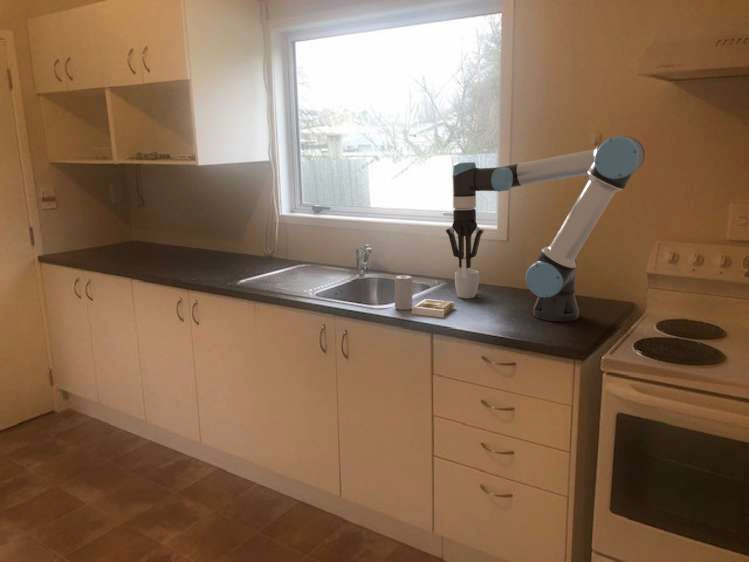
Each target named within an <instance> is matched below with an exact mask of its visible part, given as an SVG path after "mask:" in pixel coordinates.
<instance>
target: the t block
mask: <svg viewBox="0 0 749 562" xmlns="http://www.w3.org/2000/svg"><path fill="white" fill-rule="evenodd" d="M442 301H443V302H442V303H436V302H427V301H425V302H424V303H423V306H422V307H423V308H432V309H441V310H444V316H446V315H447V314H448V313H450V312H451V311H452V310H453V309H452V302H453V301H449V302H448V301H447V300H442Z"/></svg>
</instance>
